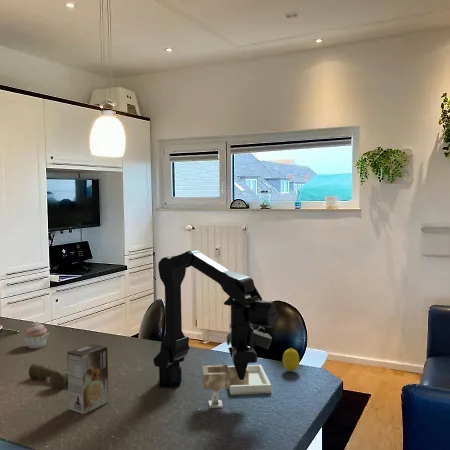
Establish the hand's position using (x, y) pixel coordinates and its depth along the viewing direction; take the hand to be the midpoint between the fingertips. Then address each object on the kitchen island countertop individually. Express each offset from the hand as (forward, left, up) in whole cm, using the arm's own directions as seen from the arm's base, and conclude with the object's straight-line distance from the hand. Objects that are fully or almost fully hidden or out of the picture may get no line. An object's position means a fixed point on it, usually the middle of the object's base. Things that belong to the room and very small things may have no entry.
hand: (240, 377), depth 131 cm
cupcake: (-72, +59, -8) cm, 93 cm away
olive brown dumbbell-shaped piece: (-55, +22, -8) cm, 60 cm away
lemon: (+20, +23, -8) cm, 31 cm away
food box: (-42, +3, -8) cm, 43 cm away
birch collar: (-4, 0, -1) cm, 5 cm away
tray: (+4, +15, -8) cm, 17 cm away
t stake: (-7, 0, -8) cm, 10 cm away
